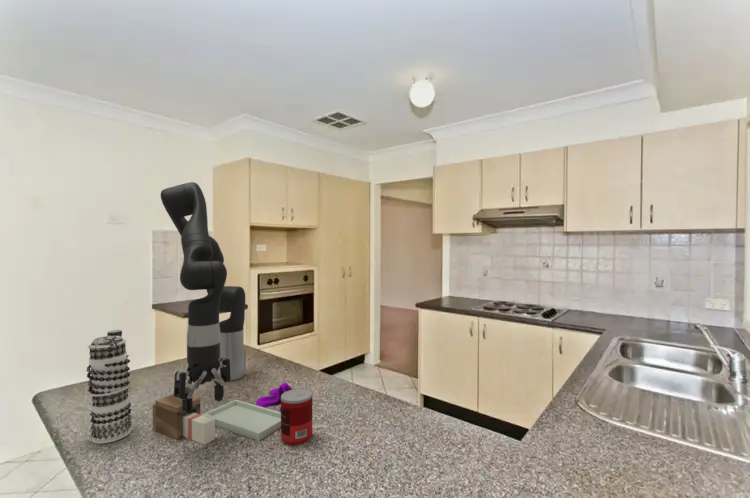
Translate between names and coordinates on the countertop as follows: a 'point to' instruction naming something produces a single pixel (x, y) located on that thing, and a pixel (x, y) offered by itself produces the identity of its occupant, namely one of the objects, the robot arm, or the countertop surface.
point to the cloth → (273, 396)
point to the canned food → (296, 416)
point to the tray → (246, 419)
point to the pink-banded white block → (198, 427)
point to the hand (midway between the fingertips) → (203, 406)
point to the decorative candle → (109, 389)
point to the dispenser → (171, 415)
